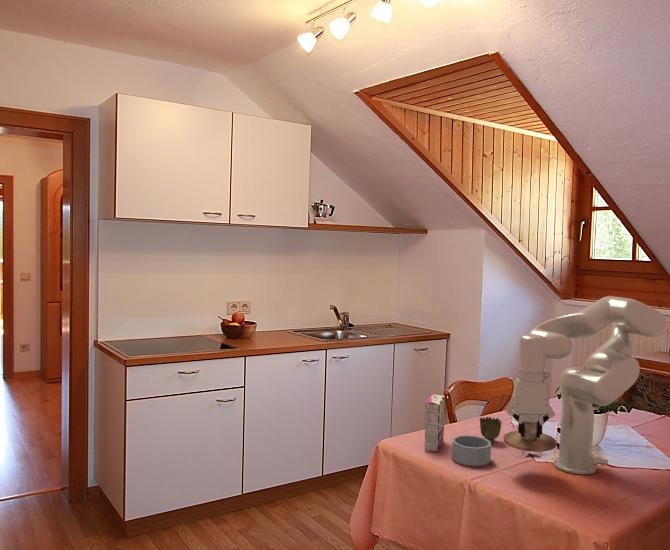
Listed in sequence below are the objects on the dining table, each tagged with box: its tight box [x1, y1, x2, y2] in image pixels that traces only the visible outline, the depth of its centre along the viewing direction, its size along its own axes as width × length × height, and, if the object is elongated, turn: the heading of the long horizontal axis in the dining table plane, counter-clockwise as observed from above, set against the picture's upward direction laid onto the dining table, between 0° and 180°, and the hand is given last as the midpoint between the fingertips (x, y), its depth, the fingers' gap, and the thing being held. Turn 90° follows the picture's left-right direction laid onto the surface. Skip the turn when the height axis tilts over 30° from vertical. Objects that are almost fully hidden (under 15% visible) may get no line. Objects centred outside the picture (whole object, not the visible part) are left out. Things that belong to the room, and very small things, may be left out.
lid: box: [503, 421, 557, 453], centre depth 186 cm, size 15×15×6 cm
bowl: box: [451, 434, 492, 468], centre depth 200 cm, size 12×12×6 cm
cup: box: [479, 416, 503, 444], centre depth 217 cm, size 8×7×8 cm
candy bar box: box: [424, 394, 446, 453], centre depth 211 cm, size 11×5×16 cm, turn 161°
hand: (530, 435), depth 187 cm, fingers closed on lid, 4 cm apart
